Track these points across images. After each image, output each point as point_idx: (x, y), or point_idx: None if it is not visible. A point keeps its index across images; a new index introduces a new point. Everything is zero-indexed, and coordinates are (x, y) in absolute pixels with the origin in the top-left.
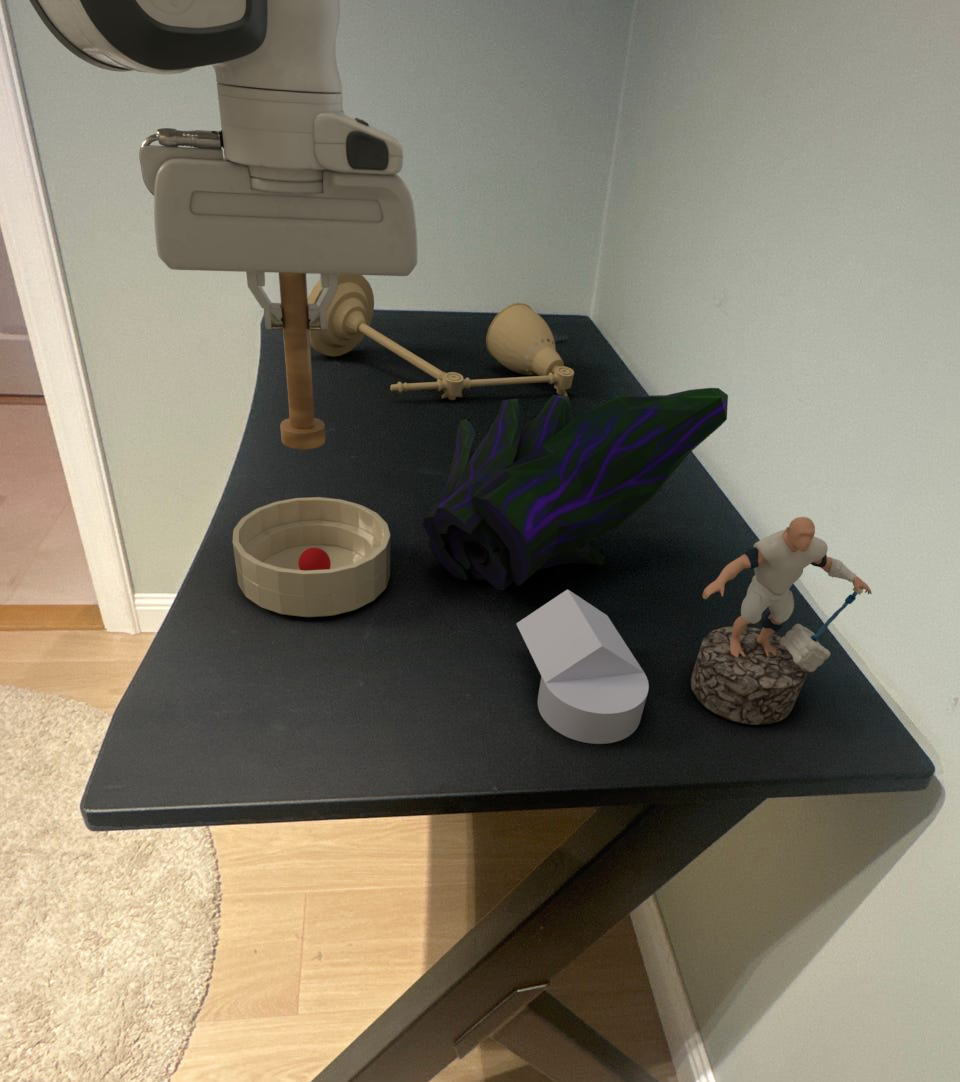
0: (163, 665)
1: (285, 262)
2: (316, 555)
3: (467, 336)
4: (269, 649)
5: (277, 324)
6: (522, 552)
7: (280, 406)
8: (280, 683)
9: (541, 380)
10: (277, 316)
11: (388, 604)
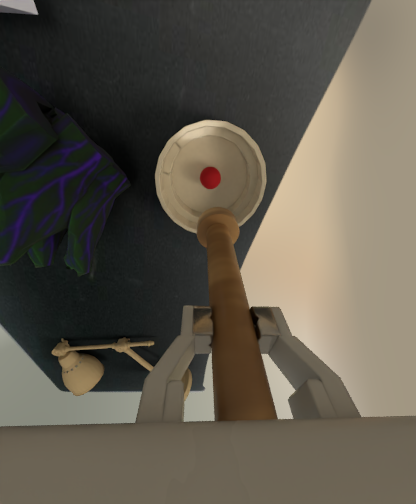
0: (323, 80)
1: (289, 462)
2: (209, 174)
3: (118, 378)
4: (252, 87)
5: (262, 311)
6: (14, 80)
7: None
8: (254, 26)
9: (72, 347)
10: (265, 323)
11: (164, 136)
